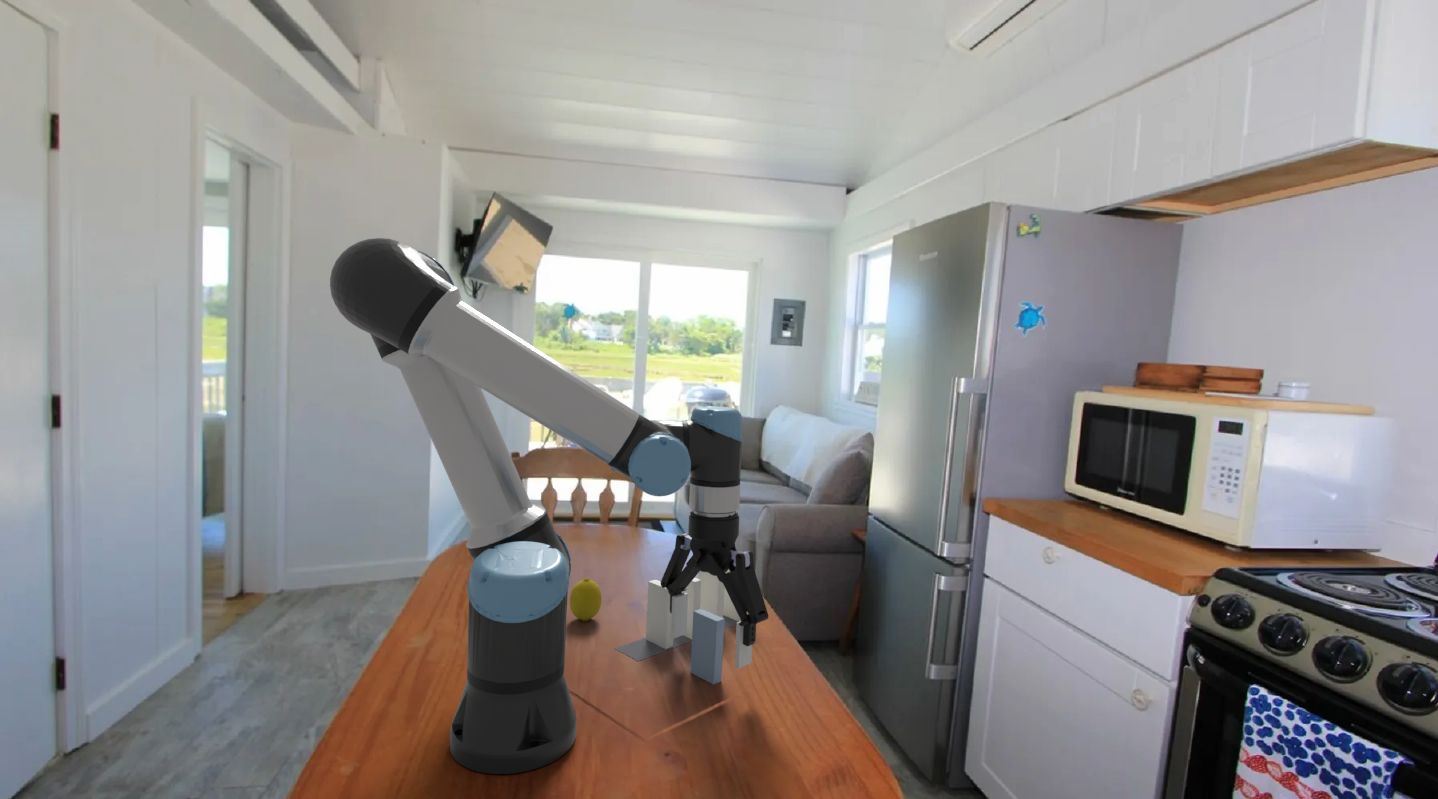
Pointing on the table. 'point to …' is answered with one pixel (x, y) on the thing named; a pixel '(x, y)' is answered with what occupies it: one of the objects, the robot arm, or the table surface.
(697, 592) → the tile
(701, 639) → the blue-grey tile
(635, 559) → the table surface
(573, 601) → the lemon
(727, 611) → the tile
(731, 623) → the strip
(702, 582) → the tile
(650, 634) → the tile
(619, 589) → the table surface
